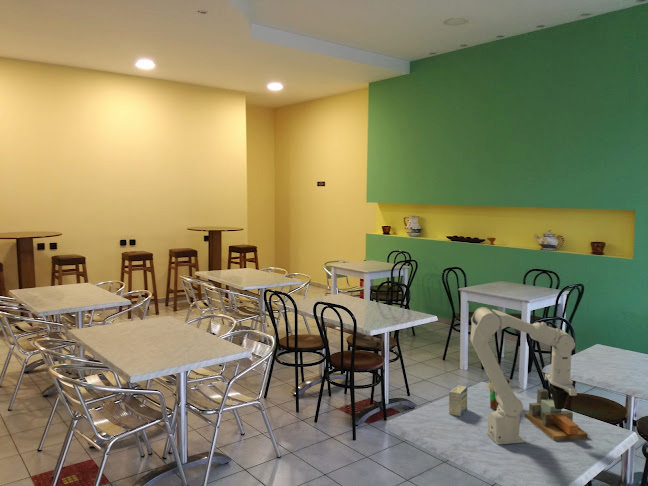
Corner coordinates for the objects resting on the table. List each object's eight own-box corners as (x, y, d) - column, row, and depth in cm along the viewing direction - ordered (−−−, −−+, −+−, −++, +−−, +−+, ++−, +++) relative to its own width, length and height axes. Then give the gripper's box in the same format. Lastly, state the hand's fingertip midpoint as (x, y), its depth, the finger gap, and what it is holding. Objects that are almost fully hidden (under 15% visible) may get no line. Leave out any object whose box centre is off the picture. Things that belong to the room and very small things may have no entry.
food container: (493, 399, 202) (493, 374, 201) (509, 403, 199) (509, 377, 198) (482, 410, 192) (483, 384, 191) (499, 414, 189) (500, 387, 188)
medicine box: (460, 417, 187) (460, 393, 186) (448, 414, 189) (448, 391, 188) (467, 409, 193) (467, 386, 192) (455, 406, 196) (456, 384, 195)
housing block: (549, 423, 178) (550, 406, 177) (540, 416, 184) (540, 399, 183) (560, 422, 178) (561, 406, 178) (550, 415, 184) (551, 399, 183)
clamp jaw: (559, 437, 167) (559, 425, 167) (541, 423, 177) (542, 412, 177) (587, 434, 169) (588, 423, 168) (568, 421, 179) (569, 410, 178)
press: (553, 440, 169) (555, 411, 168) (524, 416, 186) (525, 390, 185) (587, 438, 170) (589, 408, 169) (555, 414, 188) (556, 388, 187)
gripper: (586, 375, 161) (584, 417, 162) (559, 360, 175) (557, 398, 176) (565, 376, 160) (563, 418, 161) (539, 361, 174) (538, 400, 175)
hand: (559, 408), depth 169 cm, fingers closed
